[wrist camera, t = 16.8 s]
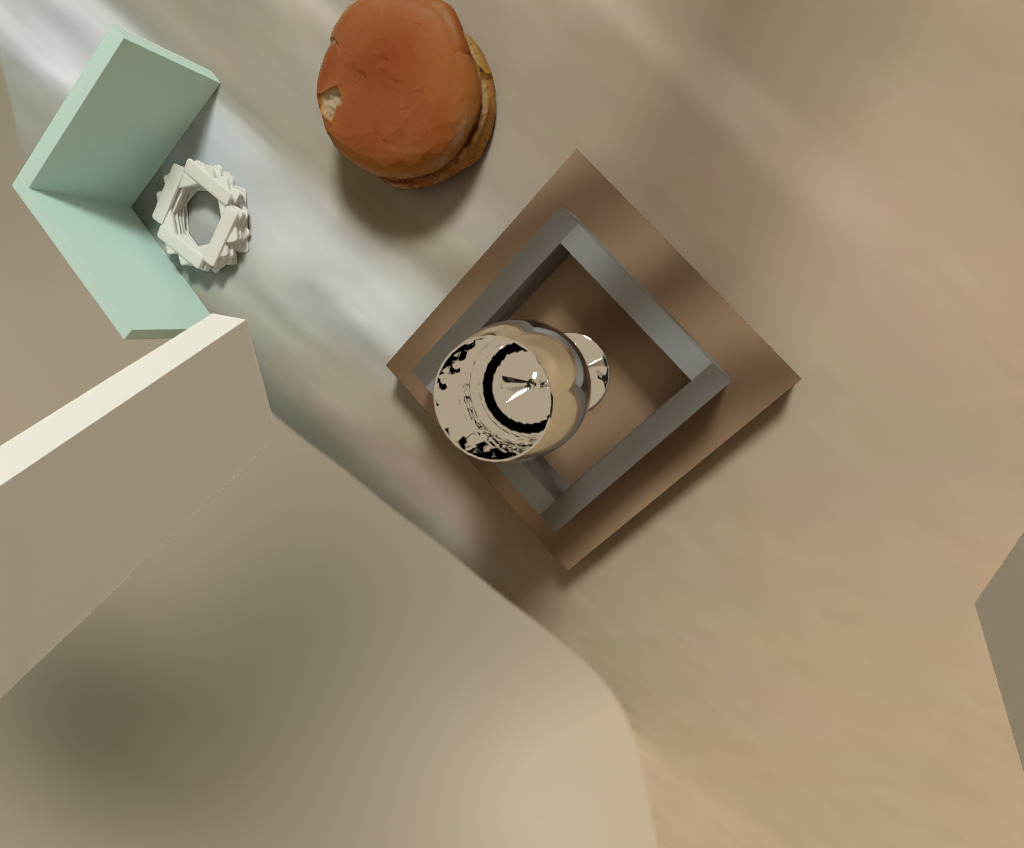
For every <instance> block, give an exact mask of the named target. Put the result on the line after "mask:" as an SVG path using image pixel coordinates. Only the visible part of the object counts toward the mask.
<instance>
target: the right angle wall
mask: <svg viewBox="0 0 1024 848" xmlns="http://www.w3.org/2000/svg"><path fill="white" fill-rule="evenodd" d="M219 85H220V82H219V81H218V79H217V78H216V77H215V75H214V74H213V73H212V71H210V70H208V69H206V68H204V67H202V66H200V65H198V64H196V63H193V62H191V61H189V60H187V59H185V58H183V57H181V56H179V55H177V54H175V53H173V52H171V51H168V50H166V49H164V48H162V47H160V46H158V45H156V44H154V43H152V42H150V41H148V40H146V39H144V38H141V37H139V36H137V35H135V34H133V33H131V32H129V31H127V30H125V29H123V28H121V27H119V26H116V25H114V24H112V26H111V27H110V29H109V31H108V32H107V34H106V35H105V37H104V39H103V40H102V42H101V43H100V45H99V47H98V48H97V50H96V51H95V53H94V55H93V56H92V58H91V59H90V61H89V63H88V64H87V66H86V68H85V69H84V71H83V72H82V74H81V76H80V77H79V79H78V80H77V82H76V84H75V85H74V87H73V88H72V90H71V92H70V93H69V95H68V96H67V98H66V100H65V101H64V103H63V104H62V106H61V108H60V109H59V111H58V112H57V114H56V116H55V117H54V119H53V120H52V122H51V124H50V125H49V127H48V129H47V130H46V132H45V133H44V135H43V137H42V138H41V140H40V141H39V143H38V145H37V146H36V148H35V149H34V151H33V153H32V154H31V156H30V157H29V159H28V161H27V162H26V164H25V165H24V167H23V169H22V170H21V172H20V174H19V175H18V177H17V178H16V180H15V181H14V183H13V185H12V186H13V187H14V189H15V190H16V191H17V193H18V194H19V196H20V197H21V198H22V200H23V201H24V202H25V204H26V205H27V207H28V208H29V209H30V211H31V212H32V213H33V215H34V216H35V218H36V219H37V220H38V222H39V223H40V225H41V226H42V227H43V229H44V230H45V231H46V233H47V234H48V236H49V237H50V238H51V240H52V241H53V242H54V244H55V245H56V247H57V248H58V249H59V251H60V252H61V253H62V255H63V256H64V258H65V259H66V260H67V262H68V263H69V265H70V266H71V267H72V269H73V270H74V271H75V273H76V274H77V276H78V277H79V278H80V280H81V281H82V282H83V284H84V285H85V287H86V288H87V289H88V291H89V292H90V293H91V295H92V296H93V298H94V299H95V300H96V301H97V303H98V305H99V306H100V307H101V308H102V310H103V311H104V313H105V314H106V316H107V317H108V318H109V320H110V321H111V322H112V324H113V325H114V326H115V328H116V329H117V331H118V332H119V334H120V335H121V336H122V337H123V339H154V338H155V339H156V338H174V337H176V336H177V335H179V334H180V333H182V332H184V331H185V330H187V329H188V328H190V327H192V326H193V325H195V324H196V323H198V322H200V321H201V320H203V319H204V318H206V317H208V316H209V315H211V314H210V313H209V312H208V310H207V309H206V308H205V306H204V305H203V304H202V302H201V301H200V300H199V298H198V297H197V296H196V294H195V293H194V292H193V290H192V289H191V288H190V286H189V285H188V283H187V282H186V281H185V279H184V278H183V277H182V275H181V274H180V273H179V271H178V270H177V269H176V267H175V266H174V265H173V263H172V262H171V261H170V259H169V258H168V257H167V255H166V254H165V252H164V251H163V250H162V248H161V247H160V246H159V244H158V243H157V242H156V240H155V239H154V238H153V236H152V235H151V234H150V232H149V231H148V230H147V228H146V227H145V225H144V224H143V223H142V221H141V220H140V219H139V217H138V216H137V215H136V213H135V212H134V211H133V209H132V208H131V207H132V205H133V204H134V202H135V201H136V200H137V198H138V197H139V195H140V194H141V193H142V191H143V190H144V189H145V187H146V186H147V184H148V183H149V182H150V180H151V179H152V177H153V176H154V175H155V173H156V172H157V170H158V169H159V168H160V166H161V165H162V164H163V162H164V161H165V159H166V158H167V157H168V155H169V154H170V152H171V151H172V150H173V148H174V147H175V146H176V144H177V143H178V141H179V140H180V139H181V137H182V136H183V134H184V133H185V132H186V130H187V129H188V128H189V126H190V125H191V123H192V122H193V121H194V119H195V118H196V116H197V115H198V114H199V112H200V111H201V110H202V108H203V107H204V105H205V104H206V103H207V101H208V100H209V98H210V97H211V96H212V94H213V93H214V92H215V90H216V89H217V87H218V86H219ZM164 182H165V185H164V188H163V190H162V191H159V192H157V194H156V196H157V201H158V202H157V205H156V207H155V210H154V212H153V215H152V217H153V218H154V219H155V220H156V221H157V222H158V223H160V224H162V225H161V226H160V228H159V231H158V238H160V239H161V240H162V241H163V242H165V244H166V249H167V253H168V254H178V255H179V259H180V263H181V265H188V266H194V267H196V268H197V269H200V270H203V271H207V272H209V271H210V269H212V271H213V272H214V273H218V272H219V271H220V269H221V268H222V267H225V265H236V264H237V253H236V251H237V252H241V253H246V252H248V251H249V247H248V237H249V236H250V231H249V229H248V224H247V218H248V214H249V212H248V210H247V200H246V190H245V189H243V188H240V187H239V186H235V182H234V177H233V176H231V175H230V173H229V172H222V167H221V166H220V165H213V166H211V165H208V166H206V165H205V164H203V163H202V162H201V161H198V160H195V162H194V161H193V160H192V159H190V158H188V159H187V161H186V164H185V167H183V166H179V165H178V164H175V163H174V164H173V165H172V168H171V170H170V173H169V174H167V175H164ZM197 191H208V192H209V193H211V194H212V195H213V196H214V197H215V198H217V199H218V204H219V209H220V215H221V219H220V221H219V223H218V225H217V228H216V230H215V232H214V234H213V237H212V239H211V241H210V243H209V244H206V245H202V246H198V245H197V244H196V243H195V241H194V240H193V239H192V237H191V236H190V234H189V225H188V208H187V203H188V202H189V201H190V199H191V198H192V197H193V196H194V194H195V193H196V192H197Z"/></svg>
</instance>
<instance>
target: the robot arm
mask: <svg viewBox="0 0 1024 848" xmlns="http://www.w3.org/2000/svg"><path fill="white" fill-rule="evenodd" d="M276 437H277V432H276V428H275V425H274V421H273V417H272V414H271V410H270V406H269V403H268V399H267V395H266V392H265V388H264V384H263V381H262V377H261V373H260V370H259V366H258V362H257V359H256V355H255V351H254V348H253V344H252V340H251V337H250V333H249V329H248V325H247V322H246V320H245V319H239V318H234V317H228V316H223V315H218V314H211V315H209V316H208V317H206V318H204V319H203V320H201V321H200V322H198V323H196V324H195V325H193V326H192V327H190V328H188V329H187V330H185V331H184V332H182V333H180V334H179V335H177V336H176V337H174V338H172V339H171V340H169V341H168V342H166V343H165V344H163V345H161V346H160V347H158V348H156V349H155V350H153V351H152V352H150V353H148V354H147V355H145V356H144V357H142V358H140V359H139V360H137V361H136V362H134V363H132V364H131V365H129V366H128V367H126V368H124V369H123V370H121V371H120V372H118V373H116V374H115V375H113V376H112V377H110V378H108V379H107V380H105V381H104V382H102V383H100V384H99V385H97V386H96V387H94V388H92V389H91V390H89V391H88V392H86V393H85V394H83V395H81V396H80V397H78V398H76V399H75V400H73V401H72V402H70V403H68V404H67V405H65V406H64V407H62V408H60V409H59V410H57V411H56V412H54V413H52V414H51V415H49V416H48V417H46V418H45V419H43V420H41V421H40V422H38V423H37V424H35V425H33V426H32V427H30V428H29V429H27V430H26V431H24V432H22V433H20V434H19V435H17V436H16V437H14V438H12V439H11V440H9V441H8V442H6V443H4V444H3V445H1V446H0V698H1V697H2V696H3V695H4V694H5V693H7V692H8V691H9V690H10V689H11V688H12V687H13V686H14V685H15V684H16V683H17V682H18V681H19V680H20V679H21V678H22V677H23V676H25V674H27V673H28V672H29V671H30V670H31V669H32V668H33V667H34V666H35V665H36V664H37V663H38V662H39V661H40V660H41V659H42V658H44V656H46V655H47V654H48V653H49V652H50V651H51V650H52V649H53V648H54V647H55V646H56V645H57V644H58V643H59V642H60V641H61V640H62V639H64V638H65V637H66V636H67V635H68V634H69V633H70V632H71V631H72V630H73V629H74V628H75V627H76V626H77V625H78V624H79V623H81V621H83V620H84V619H85V618H86V617H87V616H88V615H89V614H90V613H91V612H92V611H93V610H94V609H95V608H96V607H97V606H98V605H100V604H101V603H102V602H103V601H104V600H105V599H106V598H107V597H108V596H109V595H110V594H111V593H112V592H113V591H114V590H115V589H116V588H118V587H119V586H120V585H121V584H122V583H123V582H124V581H125V580H126V579H127V578H128V577H129V576H130V575H131V574H132V573H133V572H134V571H135V570H136V569H138V568H139V567H140V566H141V565H142V564H143V563H144V562H145V561H146V560H147V559H148V558H149V557H150V556H151V555H152V554H153V553H154V552H156V551H157V550H158V549H159V548H160V547H161V546H162V545H163V544H164V543H165V542H166V541H167V540H168V539H169V538H170V537H171V536H172V535H174V534H175V533H176V532H177V531H178V530H179V529H180V528H181V527H182V526H183V525H184V524H185V523H186V522H187V521H188V520H189V519H190V518H191V517H192V516H194V515H195V514H196V513H197V512H198V511H199V510H200V509H201V508H202V507H203V506H204V505H205V504H206V503H207V502H208V501H209V500H210V499H212V498H213V497H214V496H215V495H216V494H217V493H218V492H219V491H220V490H221V489H222V488H223V487H224V486H225V485H226V484H227V483H228V482H230V481H231V480H232V479H233V478H234V477H235V476H236V475H237V474H238V473H239V472H240V471H241V470H242V469H243V468H244V467H245V466H246V465H248V464H249V463H250V462H251V461H252V460H253V459H254V458H255V457H256V456H257V455H258V454H259V453H260V452H261V451H262V450H263V449H264V448H265V447H267V445H269V444H270V443H271V442H272V441H273V440H274V439H275V438H276ZM975 606H976V609H977V613H978V616H979V619H980V623H981V626H982V630H983V633H984V637H985V640H986V643H987V647H988V650H989V654H990V657H991V661H992V664H993V668H994V671H995V674H996V678H997V681H998V685H999V688H1000V692H1001V695H1002V698H1003V702H1004V705H1005V709H1006V712H1007V716H1008V719H1009V722H1010V726H1011V729H1012V733H1013V736H1014V740H1015V743H1016V746H1017V750H1018V753H1019V757H1020V760H1021V764H1022V767H1023V770H1024V533H1023V534H1022V536H1021V537H1020V539H1019V540H1018V542H1017V543H1016V545H1015V546H1014V547H1013V549H1012V550H1011V552H1010V553H1009V555H1008V556H1007V558H1006V559H1005V560H1004V562H1003V563H1002V565H1001V566H1000V568H999V569H998V571H997V572H996V573H995V575H994V576H993V578H992V579H991V581H990V582H989V584H988V585H987V586H986V588H985V589H984V591H983V592H982V594H981V595H980V597H979V598H978V600H977V601H976V602H975Z"/></svg>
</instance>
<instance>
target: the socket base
mask: <svg viewBox="0 0 1024 848" xmlns="http://www.w3.org/2000/svg"><path fill="white" fill-rule="evenodd" d="M510 319H530V320H536V321H540V322H543V323H546V324H548V325H550V326H552V327H554V328H556V329H558V330H560V331H561V332H578V333H582V334H585V335H587V336H589V337H591V338H592V339H593V340H595V341H596V342H597V343H598V344H599V345H600V346H601V347H602V349H603V350H604V352H605V354H606V356H607V358H608V360H609V365H610V382H609V386H608V389H607V391H606V393H605V395H604V397H603V398H602V399H601V400H600V401H599V403H598V404H597V405H596V406H594V407H593V408H591V409H590V410H588V412H587V414H586V417H585V419H584V421H583V423H582V425H581V426H580V428H579V429H578V431H577V432H576V433H575V435H574V436H573V437H572V438H571V439H570V440H569V441H568V442H567V443H565V444H564V445H563V446H561V447H560V448H558V449H557V450H555V451H554V452H552V453H550V454H548V455H545V456H542V457H540V458H537V459H534V460H531V461H525V462H517V463H495V462H488V461H484V460H480V459H477V458H475V457H473V456H470V455H468V454H466V453H465V452H463V451H462V450H461V449H460V450H461V451H462V452H463V453H464V454H465V455H466V456H467V457H468V459H469V460H470V461H471V462H472V463H473V464H474V465H475V466H476V468H477V469H478V470H479V471H480V472H481V473H482V474H483V476H484V477H485V478H486V479H487V480H488V481H489V482H490V483H491V485H492V486H493V487H494V488H495V489H496V490H497V491H498V492H499V494H500V495H501V496H502V497H503V498H504V499H505V500H506V502H507V503H508V504H509V505H510V506H511V507H512V508H513V509H514V511H515V512H516V513H517V514H518V515H519V516H520V517H521V518H522V520H523V521H524V522H525V523H526V524H527V525H528V526H529V527H530V529H531V530H532V531H533V532H534V533H535V534H536V535H537V537H538V538H539V539H540V540H541V541H542V542H543V543H544V544H545V546H546V547H547V548H548V549H549V550H550V551H551V552H552V553H553V555H554V556H555V557H556V558H557V559H558V560H559V561H560V563H561V564H562V565H563V566H564V567H565V568H566V569H567V570H569V569H570V568H572V567H573V566H574V565H575V564H576V563H578V562H579V561H580V560H581V559H583V558H584V557H585V556H586V555H587V554H589V553H590V552H591V551H592V550H594V549H595V548H596V547H597V546H598V545H600V544H601V543H602V542H603V541H605V540H606V539H607V538H608V537H609V536H611V535H612V534H613V533H614V532H615V531H617V530H618V529H619V528H620V527H622V526H623V525H624V524H625V523H626V522H628V521H629V520H630V519H631V518H633V517H634V516H635V515H636V514H637V513H639V512H640V511H641V510H642V509H644V508H645V507H646V506H647V505H648V504H650V503H651V502H652V501H653V500H654V499H656V498H657V497H658V496H659V495H661V494H662V493H663V492H664V491H665V490H667V489H668V488H669V487H670V486H672V485H673V484H674V483H675V482H676V481H678V480H679V479H680V478H681V477H683V476H684V475H685V474H686V473H687V472H689V471H690V470H691V469H692V468H694V467H695V466H696V465H697V464H698V463H700V462H701V461H702V460H703V459H704V458H706V457H707V456H708V455H709V454H711V453H712V452H713V451H714V450H715V449H717V448H718V447H719V446H720V445H722V444H723V443H724V442H725V441H726V440H728V439H729V438H730V437H731V436H733V435H734V434H735V433H736V432H737V431H739V430H740V429H741V428H742V427H743V426H745V425H746V424H747V423H748V422H750V421H751V420H752V419H753V418H754V417H756V416H757V415H758V414H759V413H761V412H762V411H763V410H764V409H765V408H767V407H768V406H769V405H770V404H772V403H773V402H774V401H775V400H776V399H778V398H779V397H780V396H781V395H782V394H784V393H785V392H786V391H787V390H789V389H790V388H791V387H792V386H793V385H795V384H796V383H797V382H798V381H800V380H801V378H800V377H799V376H798V375H797V374H796V373H795V372H794V371H793V370H792V369H791V368H790V367H789V366H788V365H787V364H786V362H785V361H784V360H783V359H782V358H781V357H780V356H779V355H778V354H777V353H776V352H775V351H774V350H773V349H772V348H771V347H770V346H769V345H768V344H767V343H766V342H765V341H764V340H763V339H762V338H761V337H760V336H759V335H758V334H757V333H756V332H755V331H754V330H753V329H752V328H751V327H750V326H749V325H748V324H747V323H746V322H745V320H744V319H743V318H742V317H741V316H740V315H739V314H738V313H737V312H736V311H735V310H734V309H733V308H732V307H731V306H730V305H729V304H728V303H727V302H726V301H725V300H724V299H723V298H722V297H721V296H720V295H719V294H718V293H717V292H716V291H715V290H714V289H713V288H712V287H711V286H710V285H709V284H708V283H707V282H706V281H705V280H704V278H703V277H702V276H701V275H700V274H699V273H698V272H697V271H696V270H695V269H694V268H693V267H692V266H691V265H690V264H689V263H688V262H687V261H686V260H685V259H684V258H683V257H682V256H681V255H680V254H679V253H678V252H677V251H676V250H675V249H674V248H673V247H672V246H671V245H670V244H669V243H668V242H667V241H666V240H665V239H664V238H663V236H662V235H661V234H660V233H659V232H658V231H657V230H656V229H655V228H654V227H653V226H652V225H651V224H650V223H649V222H648V221H647V220H646V219H645V218H644V217H643V216H642V215H641V214H640V213H639V212H638V211H637V210H636V209H635V208H634V207H633V206H632V205H631V204H630V203H629V202H628V201H627V200H626V199H625V198H624V197H623V196H622V194H621V193H620V192H619V191H618V190H617V189H616V188H615V187H614V186H613V185H612V184H611V183H610V182H609V181H608V180H607V179H606V178H605V177H604V176H603V175H602V174H601V173H600V172H599V171H598V170H597V169H596V168H595V167H594V166H593V165H592V164H591V163H590V162H589V161H588V160H587V159H586V158H585V157H584V156H583V155H582V154H581V153H580V151H579V150H578V149H576V150H575V151H574V153H573V154H572V155H571V156H570V157H569V158H568V159H567V160H566V162H565V163H564V164H563V165H562V166H561V167H560V168H559V170H558V171H557V172H556V173H555V174H554V175H553V176H552V177H551V179H550V180H549V181H548V182H547V183H546V184H545V185H544V186H543V188H542V189H541V190H540V191H539V192H538V193H537V194H536V196H535V197H534V198H533V199H532V200H531V201H530V202H529V203H528V205H527V206H526V207H525V208H524V209H523V210H522V211H521V213H520V214H519V215H518V216H517V217H516V218H515V219H514V220H513V222H512V223H511V224H510V225H509V226H508V227H507V228H506V230H505V231H504V232H503V233H502V234H501V235H500V236H499V237H498V239H497V240H496V241H495V242H494V243H493V244H492V245H491V247H490V248H489V249H488V250H487V251H486V252H485V253H484V254H483V256H482V257H481V258H480V259H479V260H478V261H477V262H476V264H475V265H474V266H473V267H472V268H471V269H470V270H469V271H468V273H467V274H466V275H465V276H464V277H463V278H462V279H461V281H460V282H459V283H458V284H457V285H456V286H455V287H454V288H453V290H452V291H451V292H450V293H449V294H448V295H447V296H446V298H445V299H444V300H443V301H442V302H441V303H440V304H439V305H438V307H437V308H436V309H435V310H434V311H433V312H432V313H431V315H430V316H429V317H428V318H427V319H426V320H425V321H424V322H423V324H422V325H421V326H420V327H419V328H418V329H417V330H416V332H415V333H414V334H413V335H412V336H411V337H410V338H409V339H408V341H407V342H406V343H405V344H404V345H403V346H402V347H401V349H400V350H399V351H398V352H397V353H396V354H395V355H394V356H393V358H392V359H391V360H390V361H389V362H388V363H387V364H386V366H387V367H388V368H389V369H390V370H391V372H392V373H393V374H394V375H395V376H396V377H397V378H398V379H399V381H400V382H401V383H402V384H403V385H404V386H405V387H406V388H407V390H408V391H409V392H410V393H411V394H412V395H413V396H414V398H415V399H416V400H417V401H418V402H419V403H420V404H421V405H422V407H423V408H424V409H425V410H426V411H427V412H428V413H429V414H430V416H431V417H432V418H433V419H434V420H435V421H436V422H437V424H438V425H439V426H440V423H439V421H438V418H437V415H436V412H435V406H434V385H435V379H436V376H437V373H438V370H439V368H440V366H441V364H442V363H443V361H444V360H445V358H446V357H447V356H448V354H449V353H450V352H451V351H452V350H453V349H454V348H455V347H456V346H457V345H458V344H459V343H460V342H462V341H463V340H464V339H466V338H467V337H468V336H470V335H471V334H473V333H474V332H476V331H478V330H480V329H481V328H484V327H486V326H488V325H491V324H493V323H496V322H501V321H505V320H510ZM440 427H441V426H440ZM441 428H442V427H441Z"/></svg>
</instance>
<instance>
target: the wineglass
mask: <svg viewBox="0 0 1024 848" xmlns="http://www.w3.org/2000/svg"><path fill="white" fill-rule="evenodd" d="M609 382H610V365H609V360H608V358H607V356H606V354H605V352H604V350H603V349H602V347H601V346H600V345H599V344H598V343H597V342H596V341H595V340H593V339H592V338H591V337H589V336H587V335H585V334H582V333H578V332H561V331H560V330H558V329H556V328H554V327H552V326H550V325H548V324H546V323H543V322H540V321H536V320H530V319H510V320H505V321H501V322H496V323H493V324H491V325H488V326H486V327H484V328H481V329H480V330H478V331H476V332H474V333H473V334H471V335H470V336H468V337H467V338H466V339H464V340H463V341H462V342H460V343H459V344H458V345H457V346H456V347H455V348H454V349H453V350H452V351H451V352H450V353H449V354H448V356H447V357H446V358H445V360H444V361H443V363H442V364H441V366H440V368H439V370H438V373H437V376H436V379H435V385H434V406H435V412H436V415H437V418H438V421H439V423H440V426H441V427H442V429H443V431H444V432H445V434H446V436H447V437H448V438H449V439H450V440H451V441H452V443H453V444H454V445H455V446H456V447H458V448H459V449H461V450H462V451H463V452H465V453H466V454H468V455H470V456H473V457H475V458H477V459H480V460H484V461H488V462H495V463H517V462H525V461H531V460H534V459H537V458H540V457H542V456H545V455H548V454H550V453H552V452H554V451H555V450H557V449H558V448H560V447H561V446H563V445H564V444H565V443H567V442H568V441H569V440H570V439H571V438H572V437H573V436H574V435H575V433H576V432H577V431H578V429H579V428H580V426H581V425H582V423H583V421H584V419H585V417H586V414H587V412H588V410H590V409H591V408H593V407H594V406H596V405H597V404H598V403H599V401H600V400H601V399H602V398H603V397H604V395H605V393H606V391H607V389H608V386H609Z"/></svg>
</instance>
